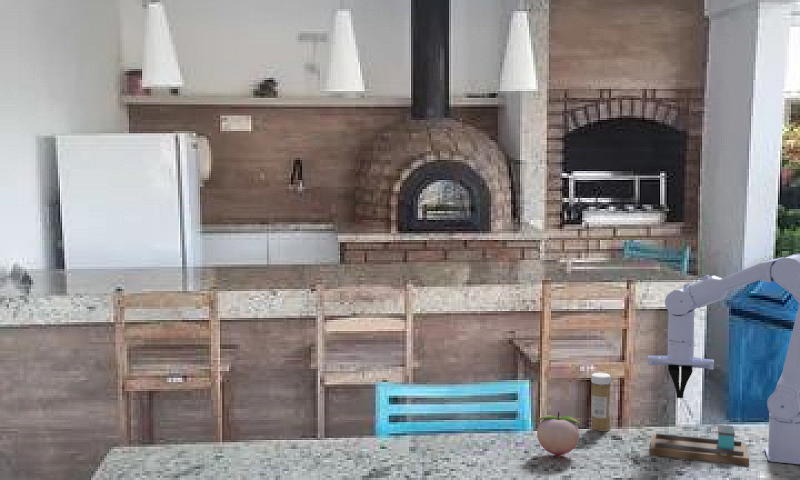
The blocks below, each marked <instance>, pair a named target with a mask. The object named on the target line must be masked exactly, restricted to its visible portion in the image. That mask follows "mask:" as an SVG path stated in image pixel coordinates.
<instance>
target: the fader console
mask: <svg viewBox="0 0 800 480" xmlns="http://www.w3.org/2000/svg"><path fill="white" fill-rule="evenodd" d="M649 453H650V454H649V455H650V456H657V457H663V458H665V457H666V458H675V459H684V460H686V459H687V460H694V461H695V460H697V461H706V462H715V463H724V464H736V465H743V466H744V465H745V466H750V457H749V453H748V448H747V444H746V442H742V440H737V439H734V450H732V449H722V448H718V438H713V437H703V436H694V435H693V436H691V435H684V434H683V435H682V434H681V435H680V434H672V433H670V434H669V433H659V432H655V433H651V439H650V451H649Z"/></svg>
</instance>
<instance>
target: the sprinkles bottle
mask: <svg viewBox="0 0 800 480" xmlns="http://www.w3.org/2000/svg"><path fill="white" fill-rule="evenodd" d="M590 376H591V378H590V379H591V381H590V382H591V429H593V430H594V429H595V430H594V431H597V432H606V431H609V430H610V429H611V383H612V377H611V375H610V374H609V373H606V372H594V373H592V374H591V375H590Z"/></svg>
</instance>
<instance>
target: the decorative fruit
mask: <svg viewBox="0 0 800 480" xmlns="http://www.w3.org/2000/svg"><path fill="white" fill-rule="evenodd" d="M538 421H540V422H539V424H538V425H537V426H538V427H537V431H536V436H537V440H538V442H539V444H540V446H541V447H542V448H543V449H544V450H545V451H546V452H548V453H549V454H552V455H555V456H557V457H560V456H562V455H566V454H569V453H570V452H571V451H573V450H574V449H575V448H576V446H577V444H578V443H579V438H580V432H579V427H578V425H581V423H580V421H579V420H578V419H576V418H574V417H572V416H569V415H563V416H560V412H559V411H557V416H556V415H551V414H547V415H543V416H540V417H539V418H538V419H536V422H538ZM577 424H578V425H577Z"/></svg>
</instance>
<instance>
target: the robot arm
mask: <svg viewBox="0 0 800 480" xmlns="http://www.w3.org/2000/svg"><path fill="white" fill-rule="evenodd" d="M758 281H759V282H760V281H762V282H766V283H771V284H772V283H774V282H775V283H776V284H777V285H778V286H780V287H781V288H783V289H784V290H786V291H787V292H789V293H790V294H791V296H792V297H793V298H794V299H795V300H796V302H797V303H798V307H797V312H796V317H795V319H794V324H793V329H792V332H791V336H790V341H789V343H788V348H787V351H786V357H785V360H784V362H783V363H784V364H783V367H782V372H781V375H780V377H779V379H778V381H777V383H776V387H775V388H774V391H773V392H772V393H771V395H770V396H768V399H767V401H766V404H767V405H766V406H767V410H768V412H769V413H768V414H769V416H768V418H769V419H768V420H769V421H768V446H767V447H764V452H765V455H766V458H767V461H768V462H771V463H782V464H790V465H791V464H792V465H793V464H794V465H800V253H793V254H790V255H788V256H786V257H784V256H782V257H778V258H773V259H769V260H765V261H762V262H759V263H757V264H754V265H752V266H749V267H747V268H745V269H741V270H739V271H737V272H734V273H732V274H730V275H728V276H725V277H720V276H717V275H711V276H710V274H707V275H704V276H702V277H701V280H698V281H695V282H694V283H690V284H689V283H688V282H687V283H686V284H683V287H682V288H679V289H673V290H672V291H670V292H669V293H667V295H666V297H665V298H664V305H665V308H666V310H667V311H668V319H667V355H647V366H664V367H666V366H667V367H668V368H667V370H668V373H669V375H670V377H671V380H672V383H673V385H674V388H675V389H674V390H675V394H676V398H677V399H683V398H684V393H685V391H686V386H687V384H688V381H689V380H690V378H691V375H692V374H693V368H695V369H708V370H711V371H712V370H714V369H715V361H714V360H715V359H708V358H701V357H694V351H695V350H694V349H695V348H694V346H695V345H694V344H695V343H694V342H695V341H694V339H695V310H697V309H701V308H704V307H706V306H709V305H711V304H715V303H717V302H720V301H723V300H724V299H726V298H727V295H728V293H729V292H730V291H731V290H735V289H738V288H741V287H744V286H746V285H749V284H752V283H755V282H758Z"/></svg>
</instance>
